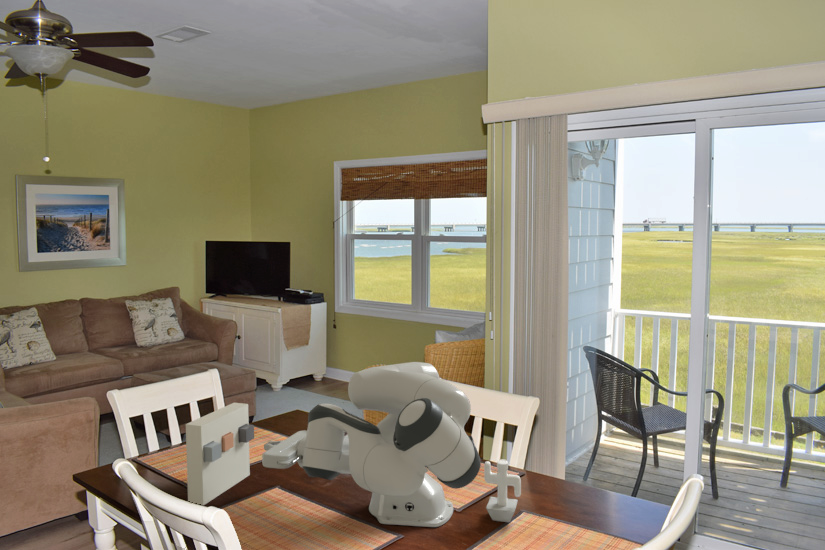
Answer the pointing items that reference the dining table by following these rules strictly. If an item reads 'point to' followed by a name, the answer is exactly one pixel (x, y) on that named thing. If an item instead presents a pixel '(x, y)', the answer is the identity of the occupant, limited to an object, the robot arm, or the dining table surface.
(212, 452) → the slate grey button
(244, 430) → the charcoal button
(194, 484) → the control panel
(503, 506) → the figurine
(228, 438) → the terracotta button
